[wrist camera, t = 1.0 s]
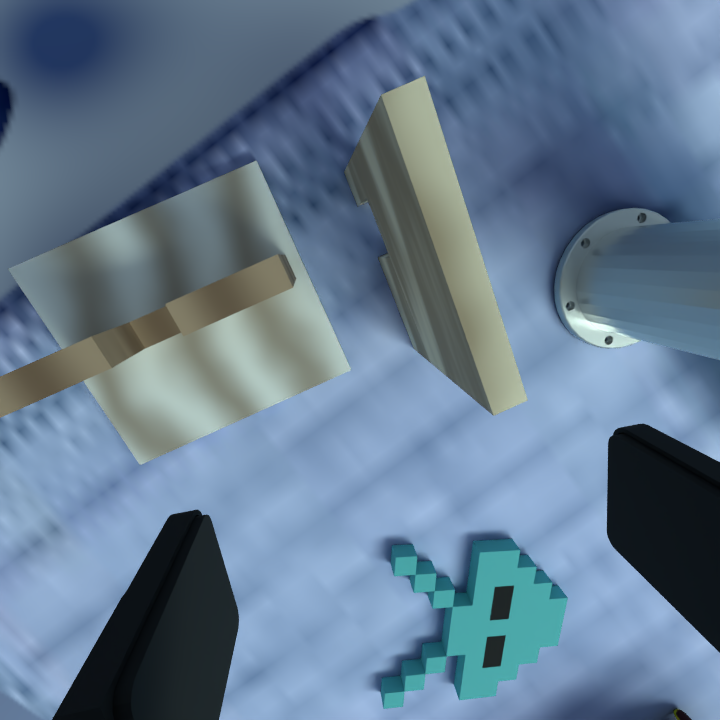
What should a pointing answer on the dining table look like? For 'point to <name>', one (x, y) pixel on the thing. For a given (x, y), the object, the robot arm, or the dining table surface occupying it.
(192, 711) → the robot arm
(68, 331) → the cross base
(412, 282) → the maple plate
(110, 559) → the dining table surface
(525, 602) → the alien figure
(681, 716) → the decorative lantern
